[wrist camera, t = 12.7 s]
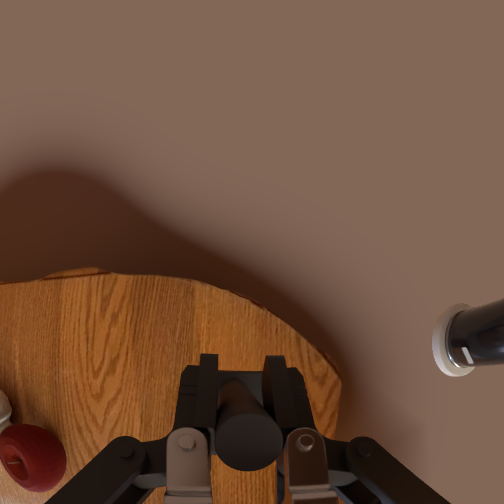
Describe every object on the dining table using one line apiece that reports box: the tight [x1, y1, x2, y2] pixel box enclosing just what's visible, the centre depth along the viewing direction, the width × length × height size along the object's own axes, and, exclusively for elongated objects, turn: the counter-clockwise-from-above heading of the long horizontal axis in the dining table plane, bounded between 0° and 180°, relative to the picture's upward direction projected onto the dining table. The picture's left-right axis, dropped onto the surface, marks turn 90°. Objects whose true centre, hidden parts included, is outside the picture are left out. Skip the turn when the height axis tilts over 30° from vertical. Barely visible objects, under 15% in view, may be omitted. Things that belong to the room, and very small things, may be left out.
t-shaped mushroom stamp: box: [214, 370, 283, 471], centre depth 13 cm, size 4×3×13 cm
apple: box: [0, 424, 67, 492], centre depth 22 cm, size 10×10×10 cm
